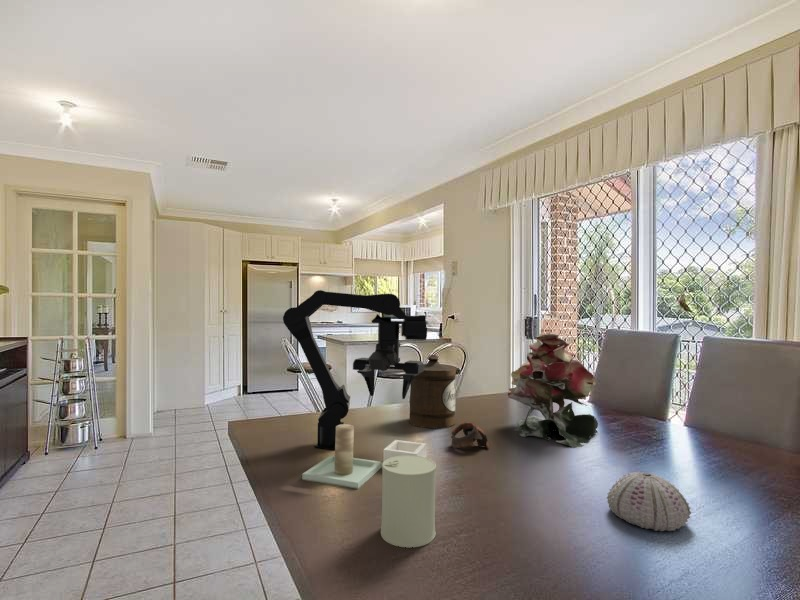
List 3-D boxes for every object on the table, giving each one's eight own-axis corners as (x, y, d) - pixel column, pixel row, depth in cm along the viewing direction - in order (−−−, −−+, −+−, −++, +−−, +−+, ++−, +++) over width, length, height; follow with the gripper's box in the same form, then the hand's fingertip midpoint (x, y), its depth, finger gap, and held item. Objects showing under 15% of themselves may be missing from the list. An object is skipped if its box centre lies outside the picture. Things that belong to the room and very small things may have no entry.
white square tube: (383, 471, 103) (383, 449, 103) (395, 460, 110) (395, 439, 110) (416, 476, 100) (416, 454, 100) (426, 464, 107) (426, 443, 107)
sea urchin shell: (655, 544, 73) (655, 494, 73) (590, 508, 86) (590, 466, 86) (707, 528, 78) (708, 483, 79) (639, 497, 91) (639, 458, 91)
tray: (302, 483, 95) (302, 473, 95) (331, 463, 107) (331, 454, 108) (358, 492, 91) (358, 482, 91) (381, 470, 103) (382, 461, 103)
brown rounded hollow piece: (495, 458, 114) (481, 432, 113) (461, 472, 116) (447, 446, 114) (487, 433, 126) (475, 409, 124) (457, 445, 127) (444, 422, 126)
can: (379, 520, 79) (380, 452, 80) (431, 519, 80) (431, 452, 80) (381, 548, 70) (382, 472, 70) (439, 547, 71) (441, 471, 71)
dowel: (331, 473, 98) (332, 427, 98) (339, 467, 102) (341, 423, 102) (347, 476, 97) (348, 430, 97) (355, 470, 100) (357, 425, 100)
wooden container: (457, 429, 139) (458, 357, 139) (409, 428, 139) (410, 357, 139) (452, 417, 154) (453, 352, 154) (409, 416, 154) (410, 352, 154)
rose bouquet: (601, 426, 144) (602, 333, 145) (585, 451, 120) (586, 338, 120) (522, 415, 158) (523, 329, 158) (492, 434, 133) (494, 333, 133)
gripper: (344, 340, 117) (343, 400, 117) (412, 343, 111) (411, 406, 111) (361, 337, 128) (360, 392, 128) (424, 340, 122) (423, 398, 121)
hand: (387, 397), depth 122 cm, fingers open, 9 cm apart
